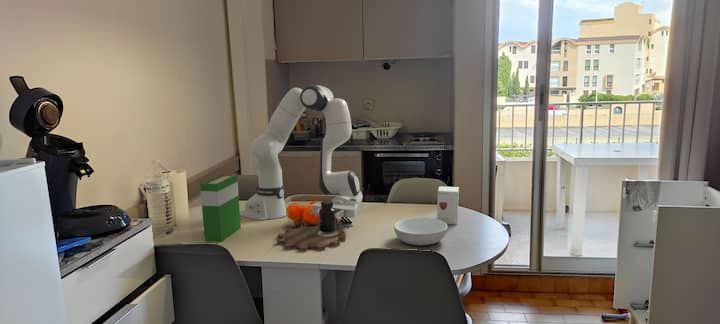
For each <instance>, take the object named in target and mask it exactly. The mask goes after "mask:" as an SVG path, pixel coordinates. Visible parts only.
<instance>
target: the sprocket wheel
mask: <svg viewBox="0 0 720 324" xmlns="http://www.w3.org/2000/svg"><path fill="white" fill-rule="evenodd" d="M284 231H285V233H278V234H277V235H276V237H277V239H276V244H277V245H278V246H282V245H283V249H284V250H288V251H289V250H293V249H297V250H299V252H303V253H307V252H308V250H317V251H318V252H321V251H325V250H326V248H327V247H333V248H337V247H339V246H341V242H346V240H347V235H346V231H345V230H344V229H340V230H337V226H336V230H335V231H333V232H322V231H320V225H319V224H316V225H315V226H307V225H306V224H305V225H299V227H297V228H295V229H294V228H291V227H289V228H287V229H285V230H284Z"/></svg>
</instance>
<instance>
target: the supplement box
mask: <svg viewBox="0 0 720 324" xmlns="http://www.w3.org/2000/svg"><path fill="white" fill-rule="evenodd" d="M459 189H460V187H459V186H438V189H437V200H436V201H437V206H436V207H437V208H436V209H437V211H436V219H438V220H441V221H443V222H445V223H446V224H447V225H456V224H457V225H458V221H459V195H460V193H459V192H460V190H459Z"/></svg>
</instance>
